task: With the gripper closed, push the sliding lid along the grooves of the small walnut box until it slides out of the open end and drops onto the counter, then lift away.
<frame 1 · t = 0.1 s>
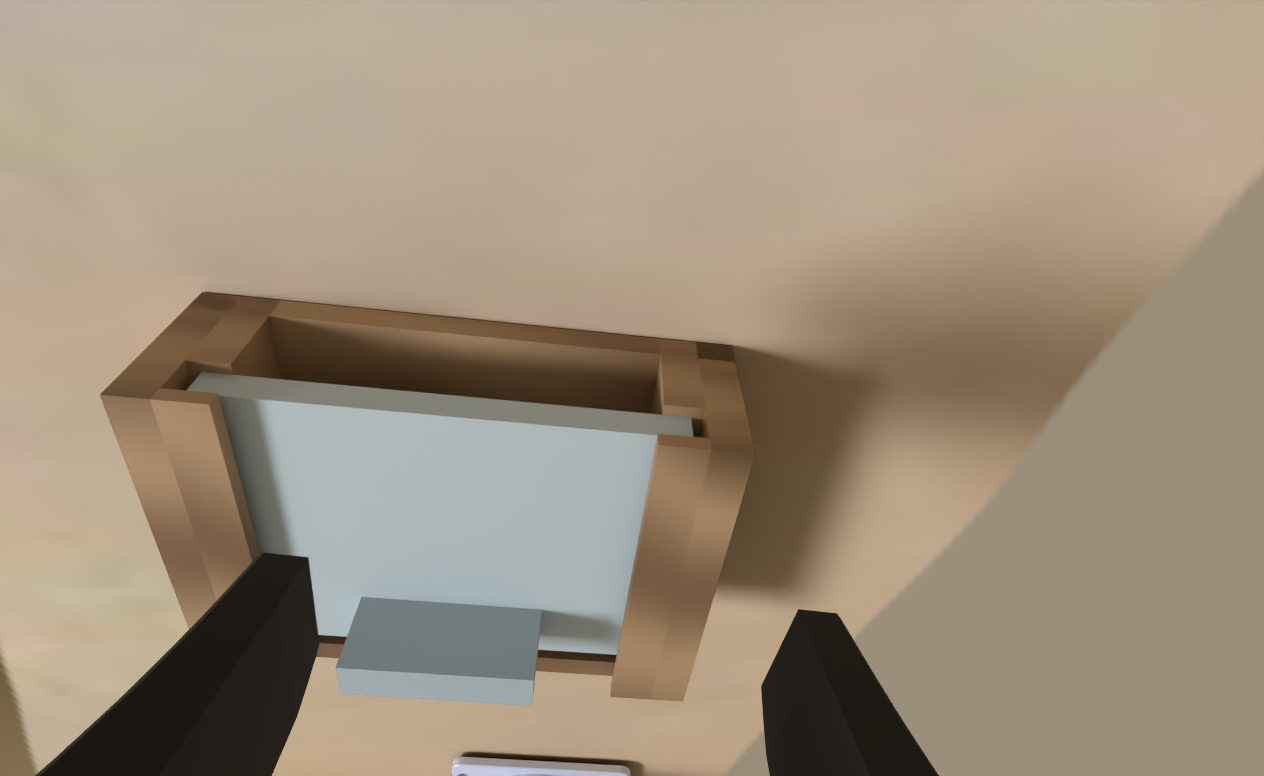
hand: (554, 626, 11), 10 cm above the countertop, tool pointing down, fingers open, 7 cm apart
box: (475, 459, 22), on the countertop
lid: (456, 522, 20), point 3 cm above the countertop, touching box
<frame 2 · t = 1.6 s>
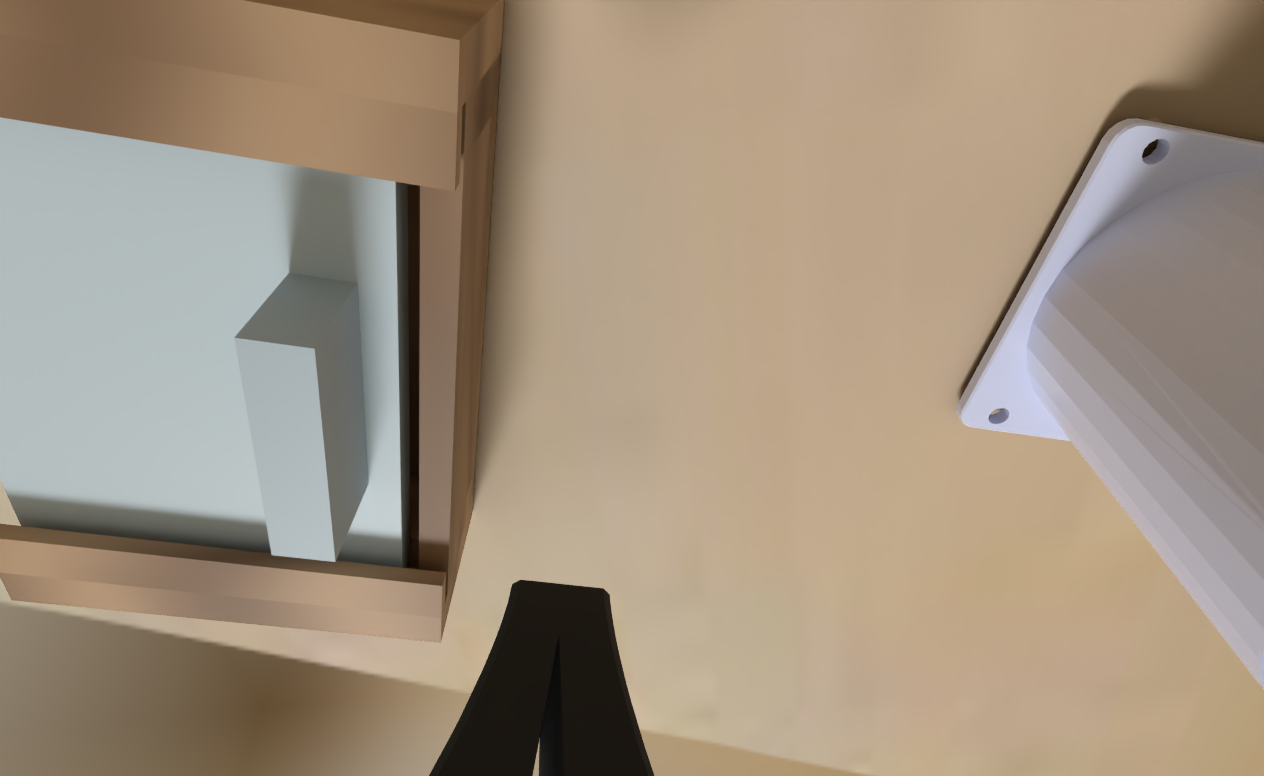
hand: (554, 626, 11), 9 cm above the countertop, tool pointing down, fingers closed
box: (273, 281, 17), on the countertop
lid: (194, 346, 15), point 3 cm above the countertop, touching box
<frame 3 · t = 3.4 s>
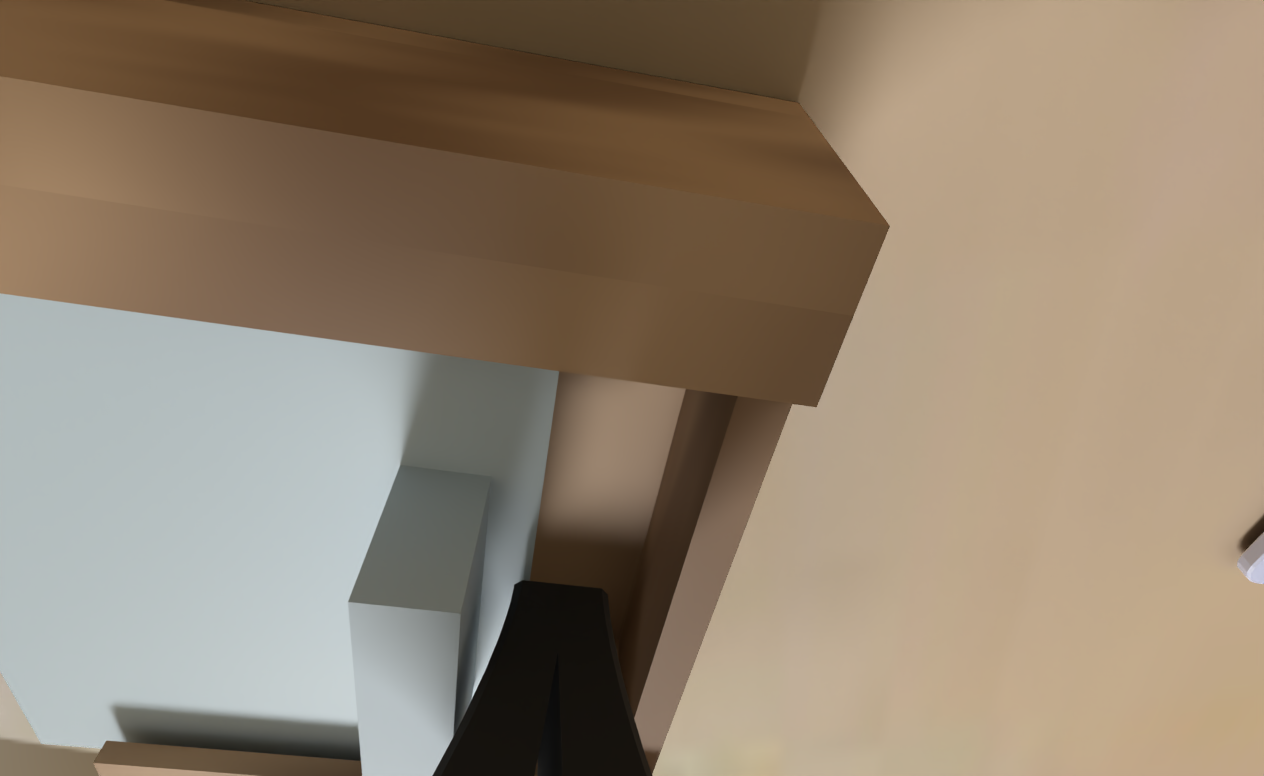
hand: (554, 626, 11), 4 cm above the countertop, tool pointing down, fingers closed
box: (442, 427, 14), on the countertop
lid: (259, 529, 11), point 3 cm above the countertop, touching gripper
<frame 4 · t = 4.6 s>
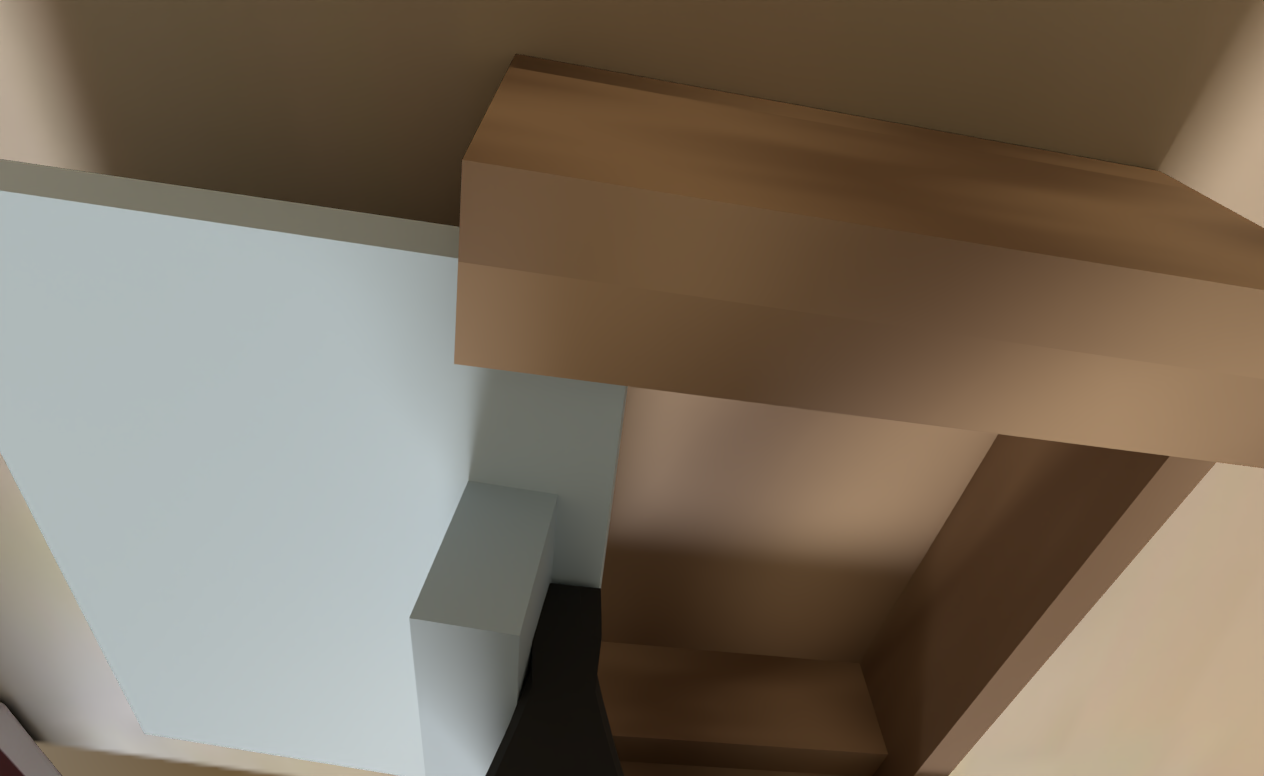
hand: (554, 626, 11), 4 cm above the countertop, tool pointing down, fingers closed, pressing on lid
box: (735, 467, 15), on the countertop
lid: (339, 539, 12), point 3 cm above the countertop, tilted 7°, touching box, gripper
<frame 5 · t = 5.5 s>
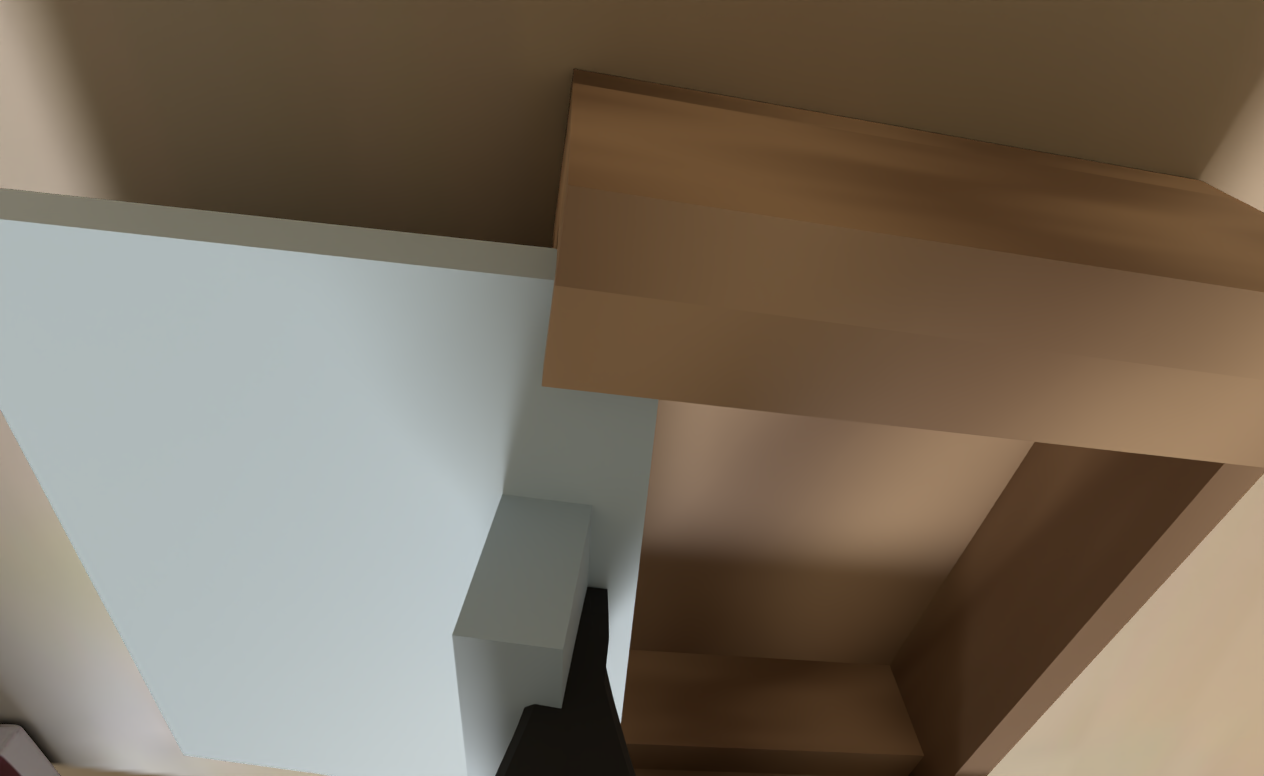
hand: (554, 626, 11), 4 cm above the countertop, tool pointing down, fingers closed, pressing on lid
box: (772, 474, 15), on the countertop
lid: (372, 556, 12), point 3 cm above the countertop, tilted 9°, touching box, gripper
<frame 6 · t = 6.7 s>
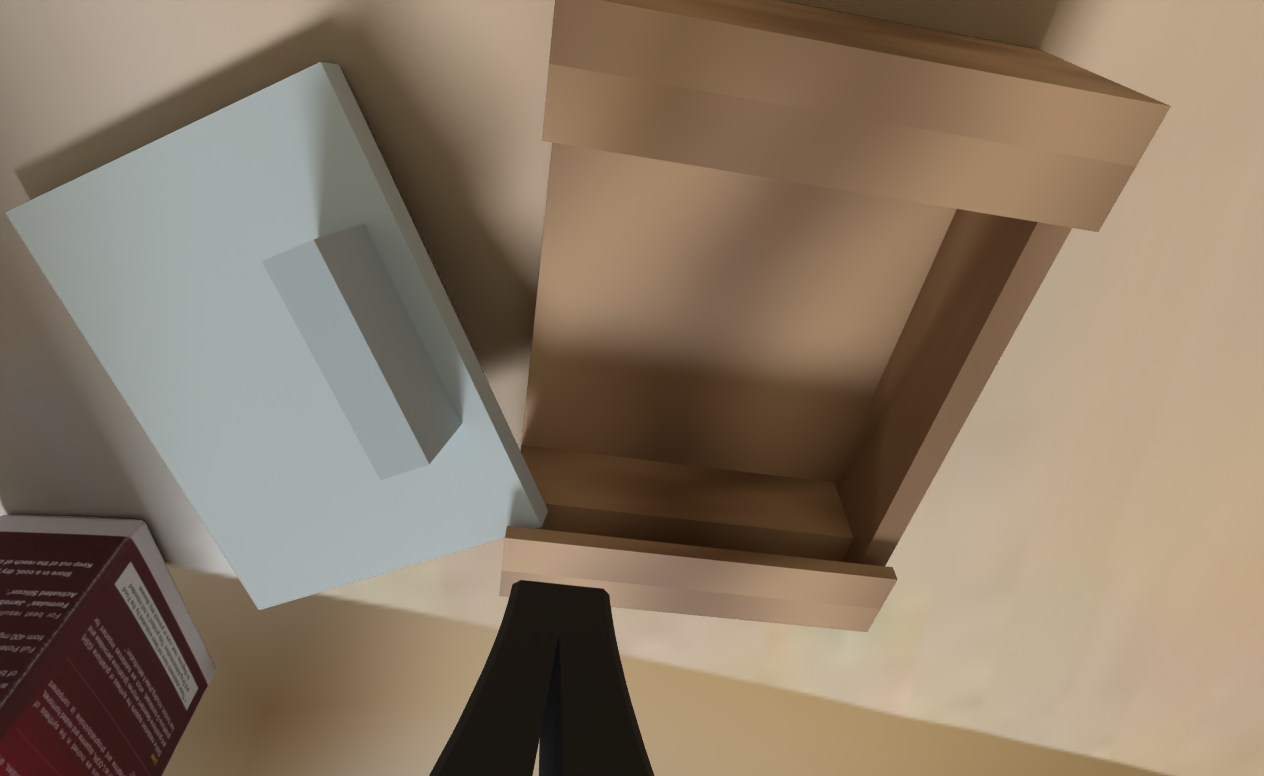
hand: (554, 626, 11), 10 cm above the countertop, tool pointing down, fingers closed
box: (731, 303, 19), on the countertop
supplement box: (123, 593, 26), on the countertop
lid: (302, 366, 18), point 2 cm above the countertop, tilted 16°, touching box
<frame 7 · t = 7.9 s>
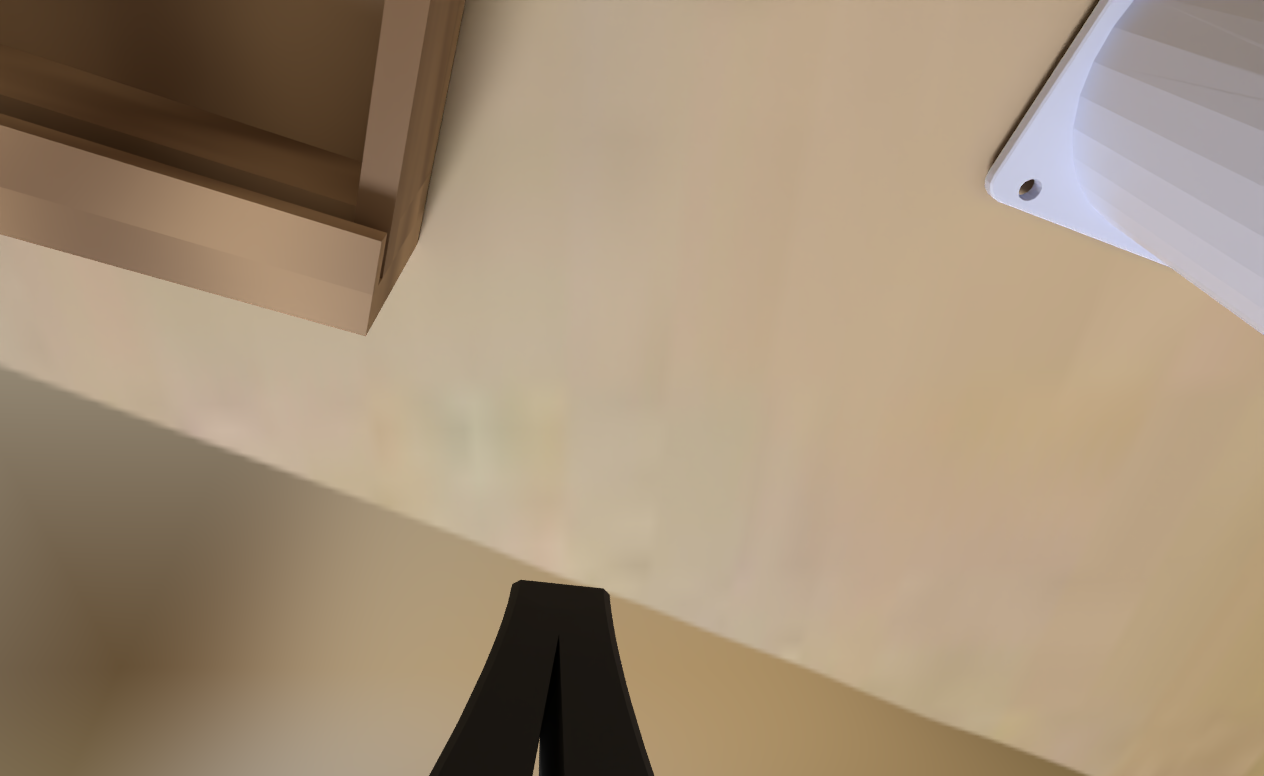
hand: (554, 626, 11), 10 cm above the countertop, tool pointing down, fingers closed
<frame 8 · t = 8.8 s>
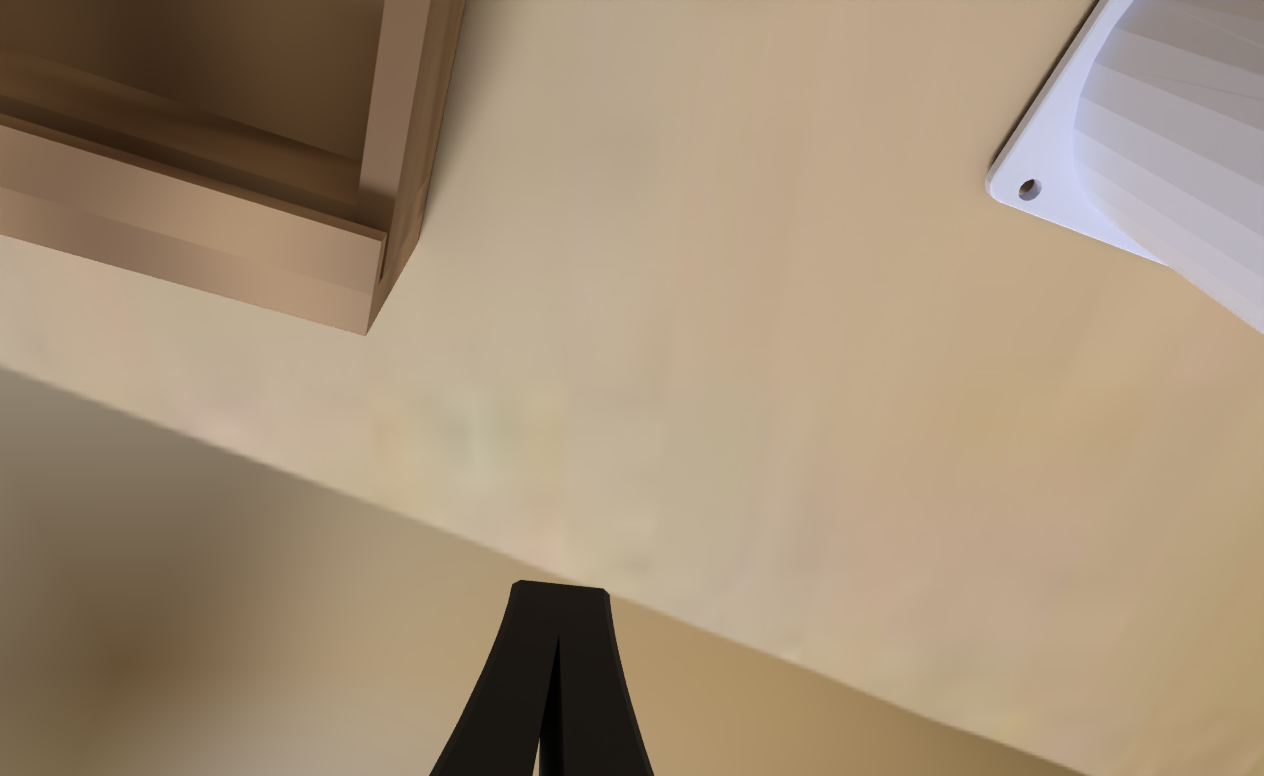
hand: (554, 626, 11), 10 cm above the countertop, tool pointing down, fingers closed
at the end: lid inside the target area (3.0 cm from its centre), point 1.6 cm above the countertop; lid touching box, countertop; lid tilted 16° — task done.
